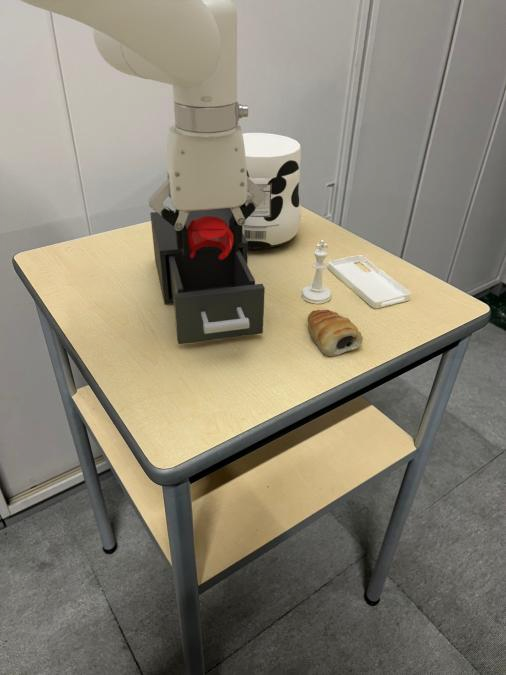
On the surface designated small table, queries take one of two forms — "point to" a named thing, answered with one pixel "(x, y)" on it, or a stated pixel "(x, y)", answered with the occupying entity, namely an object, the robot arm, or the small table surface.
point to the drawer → (214, 297)
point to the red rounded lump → (210, 235)
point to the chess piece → (317, 279)
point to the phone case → (369, 282)
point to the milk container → (273, 189)
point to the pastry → (333, 332)
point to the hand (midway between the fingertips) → (209, 249)
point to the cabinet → (167, 244)
